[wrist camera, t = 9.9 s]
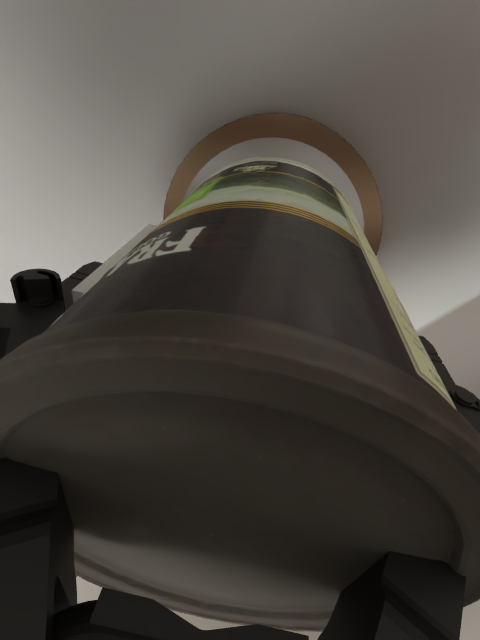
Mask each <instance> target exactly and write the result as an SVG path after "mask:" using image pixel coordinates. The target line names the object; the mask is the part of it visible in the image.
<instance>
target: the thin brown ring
mask: <svg viewBox="0 0 480 640" xmlns="http://www.w3.org/2000/svg"><path fill="white" fill-rule="evenodd" d="M255 157H277V158H284V159H289V160H293V161H296V162H299V163H302V164H305V165H307V166H309V167H311V168H313V169H315V170H317V171H318V172H320V173H322V174H323V175H324V176H325V177H327V178H328V179H330V180H331V181H332V182H333V183H335V184H336V186H337V187H338V188H339V189H340V190H341V191H342V193H343V194H344V195H345V197H346V198H347V200H348V201H349V203H350V205H351V207H352V209H353V211H354V213H355V215H356V218H357V221H358V223H359V225H360V227H361V229H362V231H363V233H364V235H365V236H366V238H367V240H368V242H369V244H370V246H371V248H372V250H373V252H374V253H375V255H377V252H378V249H379V245H380V240H381V234H382V208H381V201H380V197H379V193H378V189H377V186H376V184H375V181H374V179H373V176H372V174H371V172H370V170H369V169H368V167H367V165H366V164H365V162H364V160H363V159H362V158H361V157H360V155H359V154H358V153H357V152H356V151H355V149H354V148H353V147H352V146H351V145H350V144H349V143H347V142H346V141H345V140H344V139H343V138H342V137H341V136H339V135H338V134H337V133H335V132H333V131H332V130H330V129H329V128H327V127H325V126H324V125H322V124H320V123H317V122H315V121H313V120H310V119H308V118H304V117H300V116H296V115H292V114H281V113H270V114H259V115H254V116H250V117H245V118H242V119H239V120H237V121H234V122H232V123H229V124H227V125H224V126H223V127H221V128H219V129H217V130H216V131H214V132H212V133H211V134H209V135H208V136H207V137H206V138H204V139H203V140H202V141H200V142H199V143H198V144H197V145H196V146H195V147H194V148H193V149H192V150H191V151H190V153H189V154H188V155H187V156H186V157H185V159H184V160H183V162H182V163H181V165H180V166H179V167H178V169H177V171H176V173H175V175H174V177H173V179H172V181H171V184H170V187H169V190H168V193H167V196H166V202H165V207H164V218H163V221H164V220H165V219H166V218H167V217H168V216H169V215H170V214H171V213H172V212H173V211H174V210H175V209H176V208H177V207H178V206H180V205H181V204H182V203H183V202H184V201H185V200H186V199H187V198H188V197H189V195H190V194H191V193H192V192H193V190H194V189H195V188H196V187H197V186H198V185H199V184H200V183H201V182H202V181H204V180H205V179H206V178H207V177H208V176H210V175H211V174H213V173H214V172H216V171H217V170H219V169H221V168H223V167H225V166H227V165H229V164H231V163H234V162H237V161H240V160H244V159H248V158H255Z"/></svg>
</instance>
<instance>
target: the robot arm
mask: <svg viewBox="0 0 480 640" xmlns="http://www.w3.org/2000/svg"><path fill="white" fill-rule="evenodd" d="M156 227H157V226H155V225H151V224H149V225H148V226H147V227H146V228H144V229H143V230H142V231H141V232H140V233H138V234H137V235H136V236H135V237H134V238H133V239H131V240H130V241H129V242H128V243H127V244H126V245H124V246H123V247H122V248H121V249H120V250H118V251H117V252H116V253H115V254H114V255H113V256H111V257H110V258H109V259H108V260H107V261H105V262H104V263H99V262H92V263H89V264H86V265H83V266H82V267H81V268H79V269H78V270H77V271H76V272H75V273H73V274H72V275H70V276H69V278H67V279H65V280H64V281H63V282H61V278H60V276H59V274H57V273H56V272H54V271H51V270H47V269H30V270H25V271H22V272H19V273H17V274H15V275H14V276H13V277H12V278H11V279H10V281H11V285H12V288H13V292H14V296H15V300H16V303H0V359H2V358H3V357H5V356H6V355H7V354H9V353H10V352H12V351H13V350H14V349H16V348H17V347H19V346H20V345H21V344H23V343H24V342H26V341H27V340H29V339H31V338H34V337H36V336H38V335H40V334H42V333H43V332H44V331H45V330H47V329H48V328H49V327H50V326H51V325H52V324H53V323H54V322H55V321H56V320H57V319H58V318H59V317H60V316H61V315H62V314H63V313H64V312H65V311H66V310H67V309H68V308H69V307H70V306H72V305H73V304H74V303H75V302H76V301H77V300H78V299H79V298H80V297H81V296H82V295H83V294H84V293H85V292H86V291H88V290H89V289H90V288H91V287H92V286H94V285H95V284H96V283H97V282H98V281H99V280H100V278H101V277H102V276H103V275H104V274H105V273H106V272H107V271H109V270H110V269H111V268H112V267H113V266H114V265H115V264H116V263H118V262H119V261H120V260H121V259H122V258H123V257H124V256H125V255H126V254H128V253H129V252H130V251H131V250H132V249H133V248H134V247H135V246H136V245H137V244H138V243H139V242H141V241H142V240H143V239H144V238H145V237H146V236H147V235H148V234H149V233H150V232H151V231H152V230H154V229H155V228H156ZM418 337H419V339H420V341H421V342H422V344H423V346H424V348H425V350H426V352H427V354H428V356H429V358H430V359H431V361H432V363H433V365H434V367H435V369H436V371H437V373H438V375H439V376H440V378H441V380H442V382H443V384H444V386H445V388H446V390H447V392H448V394H449V396H450V398H451V400H452V402H453V403H454V405H455V407H456V409H457V411H458V412H459V413H460V414H462V415H463V416H464V417H465V418H466V420H467V421H468V422H469V423H470V424H471V425H472V426H473V427H474V428H475V429H476V430H477V432H478V433H479V434H480V400H479V399H478V398H477V397H476V396H475V395H474V394H473V393H471V392H469V391H468V390H466V389H465V388H462V387H460V386H457V385H455V383H454V381H453V379H452V378H451V376H450V374H449V373H448V371H447V369H446V367H445V366H444V364H442V360H441V359H440V357H439V356H438V354H437V352H436V350H435V348H434V347H433V345H432V344H431V343H430V342H429V341H428V340H426V339H425V338H424V337H423V336H418ZM465 584H466V576H461V575H459V574H458V573H457V572H455V571H454V570H453V569H452V568H451V567H450V566H449V564H448V563H446V562H444V561H441V560H433V559H426V558H421V557H417V556H412V555H407V554H403V553H398V552H393V551H389V552H388V553H387V554H385V555H384V556H383V557H382V558H381V559H379V560H378V561H377V562H376V563H375V564H374V565H372V566H371V567H370V568H369V569H368V570H366V571H365V572H364V573H363V574H362V575H360V576H359V577H358V578H357V579H356V580H355V581H353V582H352V583H351V584H350V585H349V586H347V587H346V588H345V589H344V590H343V591H341V592H340V595H339V597H338V600H337V603H336V605H335V608H334V610H333V613H332V615H331V617H330V620H329V622H328V623H327V625H326V627H325V629H324V630H323V632H322V633H321V635H320V636H319V638H318V640H459V637H460V628H461V619H462V611H463V602H464V593H465ZM0 640H309V637H308V636H306V635H302V634H298V633H294V632H289V631H285V630H281V629H277V628H273V627H268V626H264V625H260V624H254V625H246V626H238V627H230V628H223V629H216V630H201V629H198V628H197V627H195V626H193V625H192V624H190V623H189V622H187V621H186V620H184V619H183V618H181V617H180V616H178V615H177V614H175V613H174V612H172V611H170V610H169V609H167V608H166V607H164V606H163V605H161V604H160V603H158V602H157V601H155V600H154V599H151V598H147V597H142V596H138V595H134V594H130V593H126V592H121V591H117V590H113V589H109V588H105V587H103V588H102V590H101V593H100V595H99V598H98V600H93V601H87V602H83V603H79V604H77V587H76V575H75V564H74V527H73V524H72V520H71V517H70V513H69V510H68V506H67V503H66V499H65V495H64V492H63V489H62V485H61V481H60V478H59V474H58V473H56V472H52V471H48V470H45V469H41V468H38V467H34V466H31V465H27V464H23V463H20V462H16V461H13V460H10V459H8V458H3V459H1V460H0Z"/></svg>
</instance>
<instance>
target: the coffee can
mask: <svg viewBox="0 0 480 640" xmlns="http://www.w3.org/2000/svg"><path fill="white" fill-rule="evenodd" d="M3 458H8V459H10V460H13V461H16V462H20V463H23V464H27V465H31V466H34V467H38V468H41V469H45V470H48V471H52V472H56V473H58V474H59V478H60V481H61V485H62V489H63V492H64V495H65V499H66V503H67V506H68V510H69V513H70V517H71V520H72V524H73V527H74V564H75V575H77V576H79V577H81V578H83V579H84V580H86V581H88V582H91V583H93V584H95V585H98V586H100V587H105V588H109V589H113V590H117V591H121V592H126V593H130V594H134V595H138V596H142V597H147V598H151V599H154V600H155V601H157V602H158V603H160V604H161V605H163V606H164V607H166V608H167V609H170V610H173V611H177V612H180V613H185V614H190V615H194V616H198V617H202V618H206V619H211V620H217V621H222V622H226V623H232V624H239V625H244V626H246V625H254V624H260V625H264V626H268V627H273V628H277V629H281V630H291V631H314V632H316V631H317V632H323V630H324V629H325V627H326V625H327V623H328V622H329V620H330V617H331V615H332V613H333V610H334V608H335V605H336V603H337V600H338V597H339V595H340V592H341V591H343V590H344V589H345V588H346V587H347V586H349V585H350V584H351V583H352V582H353V581H355V580H356V579H357V578H358V577H359V576H360V575H362V574H363V573H364V572H365V571H366V570H368V569H369V568H370V567H371V566H372V565H374V564H375V563H376V562H377V561H378V560H379V559H381V558H382V557H383V556H384V555H385V554H387V553H388V552H389V551H393V552H398V553H403V554H407V555H412V556H417V557H421V558H426V559H433V560H441V561H444V562H446V563H448V564H449V566H450V567H451V568H452V569H453V570H454V571H455V572H457V573H458V574H459V575H461V576H466V584H465V593H464V602H463V607H465V606H467V605H469V604H472V603H473V602H476V601H478V600H479V599H480V434H479V433H478V432H477V430H476V429H475V428H474V427H473V426H472V425H471V424H470V423H469V422H468V421H467V420H466V418H465V417H464V416H463V415H462V414H460V413H459V412H458V411H457V409H456V407H455V405H454V403H453V402H452V400H451V398H450V396H449V394H448V392H447V390H446V388H445V386H444V384H443V382H442V380H441V378H440V376H439V375H438V373H437V371H436V369H435V367H434V365H433V363H432V361H431V359H430V358H429V356H428V354H427V352H426V350H425V348H424V346H423V344H422V342H421V341H420V339H419V337H418V335H417V333H416V331H415V329H414V327H413V325H412V323H411V321H410V319H409V317H408V315H407V313H406V311H405V310H404V308H403V306H402V304H401V302H400V301H399V299H398V297H397V295H396V293H395V291H394V289H393V287H392V285H391V284H390V282H389V280H388V278H387V277H386V275H385V273H384V271H383V269H382V267H381V265H380V263H379V261H378V259H377V257H376V255H375V253H374V252H373V250H372V248H371V246H370V244H369V242H368V240H367V238H366V236H365V235H364V233H363V231H362V229H361V227H360V225H359V223H358V221H357V218H356V215H355V213H354V211H353V209H352V207H351V205H350V203H349V201H348V200H347V198H346V197H345V195H344V194H343V193H342V191H341V190H340V189H339V188H338V187H337V186H336V184H335V183H333V182H332V181H331V180H330V179H328V178H327V177H325V176H324V175H323V174H322V173H320V172H318V171H317V170H315V169H313V168H311V167H309V166H307V165H305V164H302V163H299V162H296V161H293V160H289V159H284V158H277V157H255V158H248V159H244V160H240V161H237V162H234V163H231V164H229V165H227V166H225V167H223V168H221V169H219V170H217V171H216V172H214V173H213V174H211V175H210V176H208V177H207V178H206V179H205V180H204V181H202V182H201V183H200V184H199V185H198V186H197V187H196V188H195V189H194V190H193V192H192V193H191V194H190V195H189V197H188V198H187V199H186V200H185V201H184V202H183V203H182V204H181V205H180V206H178V207H177V208H176V209H175V210H174V211H173V212H172V213H171V214H170V215H169V216H168V217H167V218H166V219H165V220H164V221H162V222H161V223H160V224H159V225H158V226H157V227H156V228H155V229H154V230H152V231H151V232H150V233H149V234H148V235H147V236H146V237H145V238H144V239H143V240H142V241H141V242H139V243H138V244H137V245H136V246H135V247H134V248H133V249H132V250H131V251H130V252H129V253H128V254H126V255H125V256H124V257H123V258H122V259H121V260H120V261H119V262H118V263H116V264H115V265H114V266H113V267H112V268H111V269H110V270H109V271H107V272H106V273H105V274H104V275H103V276H102V277H101V278H100V280H99V281H98V282H97V283H96V284H95V285H94V286H92V287H91V288H90V289H89V290H88V291H86V292H85V293H84V294H83V295H82V296H81V297H80V298H79V299H78V300H77V301H76V302H75V303H74V304H73V305H72V306H70V307H69V308H68V309H67V310H66V311H65V312H64V313H63V314H62V315H61V316H60V317H59V318H58V319H57V320H56V321H55V322H54V323H53V324H52V325H51V326H50V327H49V328H48V329H47V330H45V331H44V332H43V333H42V334H40V335H38V336H36V337H34V338H31V339H29V340H27V341H26V342H24V343H23V344H21V345H20V346H19V347H17V348H16V349H14V350H13V351H12V352H10V353H9V354H7V355H6V356H5V357H3V358H2V359H0V460H1V459H3Z"/></svg>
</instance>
